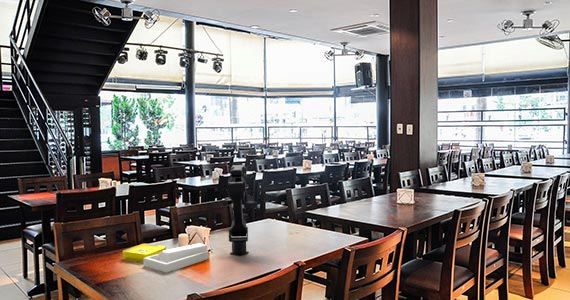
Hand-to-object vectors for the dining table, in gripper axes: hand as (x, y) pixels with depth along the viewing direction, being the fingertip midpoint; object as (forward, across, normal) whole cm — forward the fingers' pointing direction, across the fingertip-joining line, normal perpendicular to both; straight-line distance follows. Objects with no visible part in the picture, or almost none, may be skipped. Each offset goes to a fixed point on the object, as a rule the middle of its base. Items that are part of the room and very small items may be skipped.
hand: (240, 220), depth 221 cm
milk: (+10, +3, +22) cm, 24 cm away
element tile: (+14, +27, +38) cm, 48 cm away
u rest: (+13, +7, +34) cm, 37 cm away
